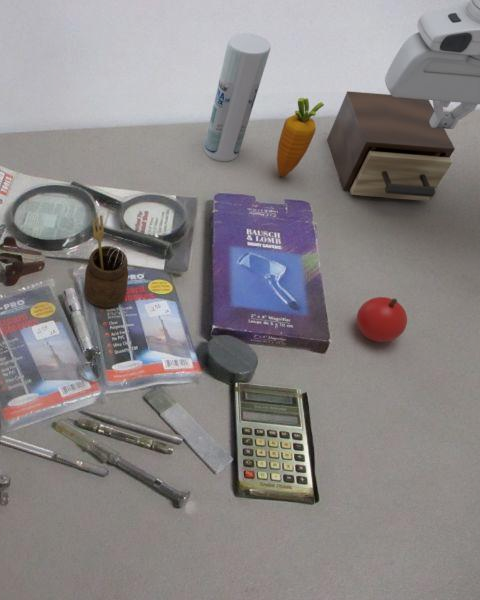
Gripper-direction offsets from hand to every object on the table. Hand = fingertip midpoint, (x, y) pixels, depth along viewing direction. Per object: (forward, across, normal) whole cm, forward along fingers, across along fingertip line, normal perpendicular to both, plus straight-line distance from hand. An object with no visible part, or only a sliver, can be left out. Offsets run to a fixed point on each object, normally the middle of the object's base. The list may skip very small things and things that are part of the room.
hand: (440, 126), depth 85 cm
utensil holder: (+17, +46, +23) cm, 54 cm away
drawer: (+15, 0, -7) cm, 17 cm away
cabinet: (+16, 0, -12) cm, 20 cm away
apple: (+16, +9, +26) cm, 32 cm away
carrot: (+17, +17, -7) cm, 25 cm away
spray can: (+17, +27, -13) cm, 34 cm away
